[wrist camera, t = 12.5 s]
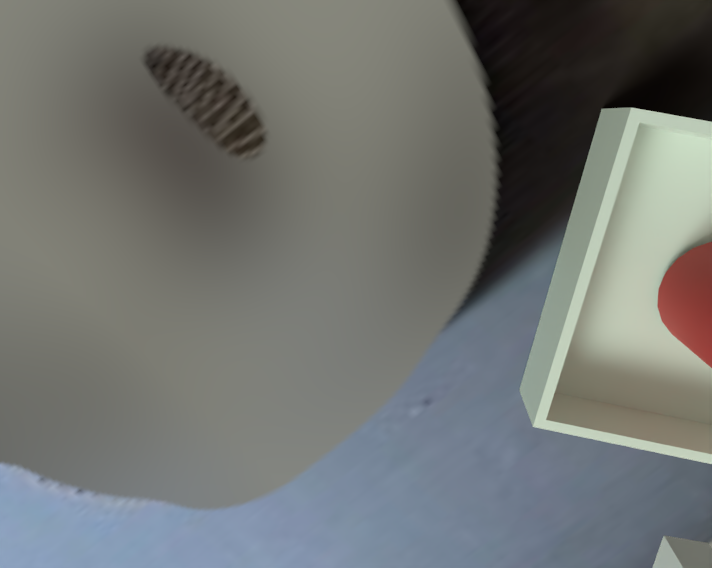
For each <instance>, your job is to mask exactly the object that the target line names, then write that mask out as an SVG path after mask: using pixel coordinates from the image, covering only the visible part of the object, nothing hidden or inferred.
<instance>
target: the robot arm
mask: <svg viewBox="0 0 712 568" xmlns="http://www.w3.org/2000/svg"><path fill="white" fill-rule="evenodd" d="M653 568H712V548H711V546H710V545H709V544H708V543H704V542H698V541H693V540H687V539H681V538H675V537H669V536H664V537H663V539H662V542H661V545H660V548H659V551H658V554H657V557H656V559H655V562H654V565H653Z"/></svg>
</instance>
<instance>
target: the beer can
mask: <svg viewBox="0 0 712 568" xmlns="http://www.w3.org/2000/svg"><path fill="white" fill-rule="evenodd" d="M657 306H658V310H659V313H660V317H661V320H662V322H663V323H664V325H665V326H666V327H667V329H668V330H669V331H670V333H671V334H672V335H673V336H675V337H676V338H677V339H678V340H679V341H680V342H682V343H683V344H684V345H685V346H686V347H687V348H689V349H690V350H691V351H692V352H693V353H694V354H696V355H697V356H698V357H699V358H700V359H701V360H703V361H704V362H705V363H706V364H707V365H708V366H710V367H711V368H712V242H709V243H706V244H703V245H700V246H697V247H694V248H692V249H691V250H689V251H688V252H686V253H685V254H684V255H682V256H681V257H679V258H678V259H677V260H676V261H675V262H674V263H673V264H672V266H671V267H670V268H669V269H668V270H667V271H666V273H665V275H664V277H663V280H662V282H661V284H660V287H659V291H658V305H657Z"/></svg>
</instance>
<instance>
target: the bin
mask: <svg viewBox="0 0 712 568" xmlns="http://www.w3.org/2000/svg"><path fill="white" fill-rule="evenodd" d="M709 242H712V122H710V121H704V120H699V119H693V118H688V117H682V116H676V115H671V114H665V113H660V112H654V111H648V110H643V109H637V108H632V107H630V108H607V109H602V110H601V113H600V117H599V120H598V123H597V127H596V130H595V134H594V137H593V140H592V144H591V147H590V151H589V154H588V157H587V161H586V164H585V168H584V171H583V175H582V178H581V181H580V185H579V188H578V192H577V195H576V198H575V202H574V205H573V209H572V212H571V215H570V219H569V222H568V226H567V229H566V232H565V236H564V239H563V243H562V246H561V250H560V253H559V256H558V260H557V263H556V267H555V270H554V273H553V277H552V280H551V284H550V287H549V290H548V294H547V297H546V301H545V304H544V308H543V311H542V314H541V318H540V321H539V325H538V328H537V331H536V335H535V338H534V342H533V345H532V348H531V352H530V355H529V359H528V362H527V366H526V369H525V372H524V376H523V379H522V383H521V386H520V389H519V391H520V393H521V396H522V399H523V401H524V404H525V407H526V409H527V412H528V415H529V417H530V420H531V423H532V426H533V427H537V428H541V429H546V430H551V431H556V432H561V433H565V434H570V435H575V436H580V437H585V438H589V439H594V440H599V441H604V442H609V443H613V444H618V445H623V446H628V447H633V448H637V449H642V450H647V451H652V452H656V453H661V454H666V455H671V456H676V457H680V458H685V459H690V460H695V461H700V462H704V463H709V464H712V368H711V367H710V366H708V365H707V364H706V363H705V362H704V361H703V360H701V359H700V358H699V357H698V356H697V355H696V354H694V353H693V352H692V351H691V350H690V349H689V348H687V347H686V346H685V345H684V344H683V343H682V342H680V341H679V340H678V339H677V338H676V337H675V336H673V335H672V334H671V333H670V331H669V330H668V329H667V327H666V326H665V325H664V323H663V322H662V320H661V317H660V313H659V310H658V306H657V305H658V291H659V287H660V284H661V282H662V280H663V277H664V275H665V273H666V271H667V270H668V269H669V268H670V267H671V266H672V264H673V263H674V262H675V261H676V260H677V259H678V258H679V257H681V256H682V255H684V254H685V253H686V252H688V251H689V250H691V249H692V248H694V247H697V246H700V245H703V244H706V243H709Z"/></svg>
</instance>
